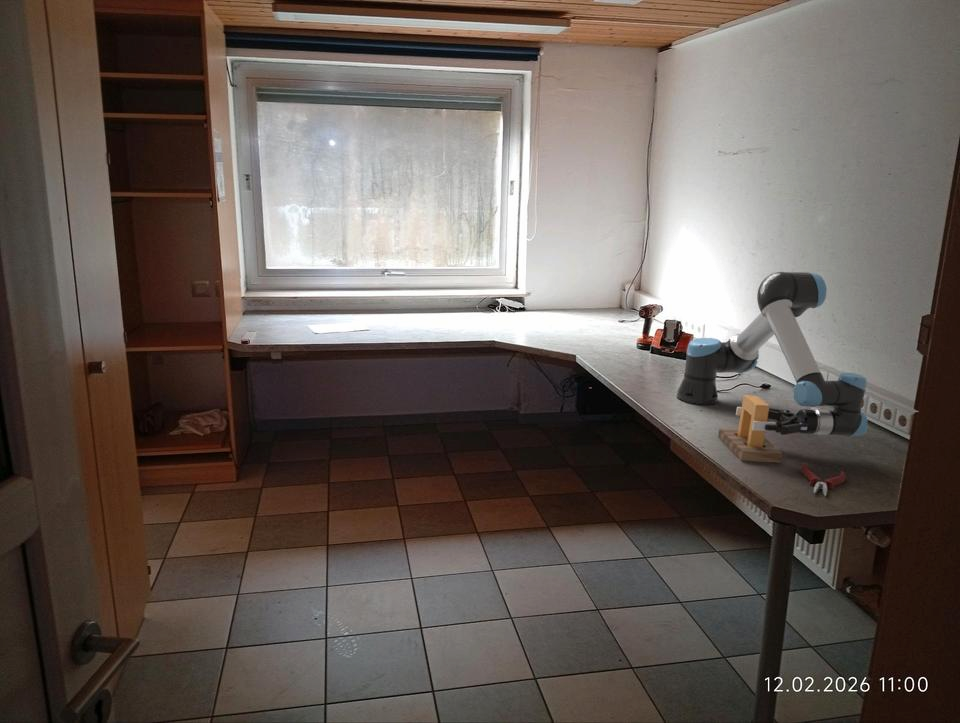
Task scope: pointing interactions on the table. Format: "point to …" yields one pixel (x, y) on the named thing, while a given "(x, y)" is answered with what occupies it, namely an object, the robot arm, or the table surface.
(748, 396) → the orange arch-shaped block
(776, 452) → the wooden slotted board
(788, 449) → the table surface
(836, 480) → the pliers
